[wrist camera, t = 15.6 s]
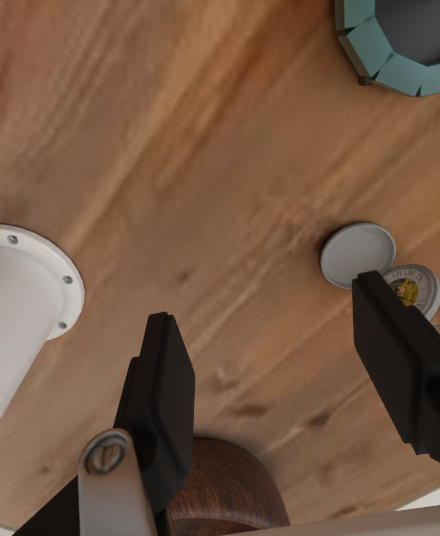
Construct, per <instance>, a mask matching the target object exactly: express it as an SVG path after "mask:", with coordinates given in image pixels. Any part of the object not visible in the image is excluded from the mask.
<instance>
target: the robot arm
mask: <svg viewBox="0 0 440 536" xmlns="http://www.w3.org/2000/svg"><path fill="white" fill-rule="evenodd" d="M84 296H85V291H84V286H83V282H82V279H81V277H80V275H79V272H78V270H77V269H76V267H75V266H74V264H73V263H72V261H71V260H70V259H69V258H68V257H67V256H66V255H65V254H64V253H63V252H62V250H61V249H59V248H58V247H57V246H55V245H54V244H53V243H51V242H50V241H49V240H47V239H45V238H43V237H41V236H39V235H38V234H36V233H33V232H31V231H28V230H25V229H23V228H19V227H14V226H10V225H1V224H0V419H1V417H2V415H3V414H4V412H5V410H6V408H7V407H8V405H9V403H10V401H11V400H12V398H13V396H14V394H15V393H16V391H17V389H18V388H19V386H20V384H21V382H22V381H23V379H24V377H25V375H26V374H27V372H28V370H29V369H30V367H31V365H32V363H33V362H34V360H35V358H36V356H37V355H38V353H39V351H40V350H41V348H42V346H43V344H44V343H45V341H47V340H51V339H54V338H56V337H58V336H60V335H62V334H64V333H65V332H67V331H68V330H69V329H70V328H71V327H72V326H73V325H74V324H75V322H76V321H77V319H78V317H79V315H80V313H81V311H82V308H83V305H84ZM352 301H353V328H354V344H355V347H356V350H357V352H358V354H359V356H360V358H361V360H362V362H363V364H364V366H365V368H366V370H367V372H368V374H369V376H370V378H371V380H372V382H373V384H374V386H375V388H376V390H377V392H378V394H379V396H380V398H381V400H382V402H383V404H384V406H385V408H386V409H387V411H388V413H389V415H390V417H391V419H392V421H393V423H394V425H395V427H396V429H397V431H398V433H399V435H400V437H401V439H402V441H403V442H404V443H405V444H407V443H411V445H412V447H413V449H414V451H415V453H416V455H420V454H427V453H428V454H429V455H430V457H431V458H432V459H434V460H436V461H438V462H440V334H439V333H438V332H437V330H436V329H435V328H434V327H433V326H432V324H431V323H430V322H429V321H428V320H427V319H426V317H425V316H424V315H423V314H422V313H421V311H420V310H419V309H418V308H417V307H416V306H414V305H410V306H406V305H405V304H404V303H403V302H402V300H401V299H400V298H399V297H398V295H397V294H396V293H395V292H394V290H393V289H392V288H391V287H390V285H389V284H388V283H387V282H386V280H385V279H384V278H383V277H382V275H381V274H380V273H379V272H378V271H377V270H373V271H368V272H363V273H358V275H357V278H356V279H352ZM194 398H195V373H194V369H193V367H192V364H191V361H190V358H189V356H188V353H187V350H186V348H185V345H184V342H183V339H182V337H181V334H180V331H179V328H178V326H177V323H176V320H175V318H174V316H173V315H168V313H167V312H161V313H156V314H151V315H149V317H148V321H147V326H146V330H145V334H144V339H143V343H142V347H141V352H140V356H138V357H133V358H132V359H131V361H130V364H129V368H128V372H127V376H126V379H125V383H124V387H123V391H122V395H121V399H120V403H119V407H118V411H117V414H116V418H115V422H114V426H113V428H112V429H108V430H106V431H103V432H101V433H100V434H98V435H96V436H95V437H94V438H93V439H92V440H91V441H89V442H88V444H87V445H86V446H85V448H84V449H83V451H82V453H81V455H80V457H79V461H78V475H77V476H76V477H75V478H74V479H73V480H72V481H70V482H69V483H68V484H67V485H66V486H65V487H64V488H63V489H62V490H61V491H60V492H59V493H57V494H56V495H55V496H54V497H53V498H52V499H51V500H50V501H49V502H48V503H47V504H46V505H44V506H43V507H42V508H41V509H40V510H39V511H38V512H37V513H36V514H35V515H34V516H33V517H31V518H30V519H29V520H28V521H27V522H26V523H25V524H24V525H23V526H22V527H21V528H20V529H18V530H17V531H16V532H15V533H14V534H13V535H12V536H177V534H176V530H175V526H174V522H173V518H172V514H171V510H170V507H169V503H170V502H171V501H172V499H173V498H174V497H175V492H177V491H184V490H185V479H186V478H188V477H190V476H191V472H192V448H193V423H194ZM222 536H440V505H438V506H431V507H424V508H416V509H408V510H401V511H393V512H386V513H378V514H371V515H364V516H356V517H349V518H342V519H335V520H328V521H320V522H313V523H306V524H299V525H292V526H285V527H278V528H270V529H263V530H256V531H249V532H242V533H235V534H229V535H222Z"/></svg>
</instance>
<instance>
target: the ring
mask: <svg viewBox="0 0 440 536" xmlns="http://www.w3.org/2000/svg"><path fill="white" fill-rule="evenodd" d="M335 27H336V31H338V30H343V29H346V30H345V31H343V32H342V33H341V34H340V35H339V36H338V39H339V41H340V43H341V44H342V46H343V48H344V49H345V51H346V53H347V54H348V56H349V58H350V59H351V61H352V63H353V65H354V66H355V68H356V70H357V71H358V73H359V75H360V76H364V77H366V78H365V80H366V81H368V82H371V83H373V84H376V85H378V86H381V87H383V88H385V89H388V90H390V91H393V92H395V93H398V94H400V95H404V96H409V97H420V98H421V97H425V96H430V95H435V94H439V93H440V60H436V61H432V62H427V63H423V64H420V63H418V62H416V61H413V60H411V59H409V58H406V57H404V56H402V55H399V54H397V53H395V52H393V50H392V48H391V46H390V44H389V42H388V40H387V39H386V37H385V35H384V33H383V31H382V29H381V27H380V25H379V24H378V22H377V20H376V18H375V0H335Z"/></svg>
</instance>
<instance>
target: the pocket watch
mask: <svg viewBox="0 0 440 536" xmlns="http://www.w3.org/2000/svg"><path fill="white" fill-rule="evenodd" d="M395 255H396V245H395V242H394V239H393V237H392V236H391V235H390V233H389V232H388V231H387V230H386V229H384V228H382V227H380V226H379V225H375V224H372V223H357V224H352V225H349V226H347V227H344V228H342V229H341V230H339V231H338V232H336V233H335V234H334V235H333V236H332V237H331V238H330V239H329V240H328V241H327V243H326V244H325V246H324V248H323V250H322V253H321V258H320V264H321V269H322V272H323V274H324V276H325V277H326V279H327V280H328V281H329V282H330V283H332V284H333V285H335V286H337V287H340V288H343V289H352V279H356V278H357V275H358V273H363V272H368V271H373V270H377V271H378V272H379V273H380V274H381V275H382V277H383V278H384V279H385V280H386V282H387V283H388V284H389V285H390V287H391V288H392V289H393V290H394V292H395V293H396V294H397V295H398V297H399V298H400V299H401V300H402V302H403V303H404V304H405V305H406V306H410V305H414V306H416V307H417V308H418V309H419V310H420V311H421V313H422V314H423V315H424V316H425V317H426V319H427V320H428V321H429V320H430V319H431V318H432V317H433V315H434V314H435V313H436V311H437V309H438V307H439V304H440V283H439V281H438V279H437V277H436V275H435V274H434V273H433V272H432V271H431V270H430V269H428V268H426V267H425V266H422V265H418V264H408V265H402V266H399V267H396V268H394V269H392V270H391V269H390V267H391V266H392V264H393V261H394V259H395ZM408 284H409V285H408ZM410 284H412V285H411V286H410ZM413 286H415V287H413ZM398 287H401V288H402V287H405V291H404V293H402V292H399V291H400V289H401V288H400V289H398ZM406 287H407V289H406ZM412 287H413V288H412ZM408 289H409V290H408ZM400 294H403V296H402V295H400ZM433 327H434V328H435V329H440V325H437V326H433Z"/></svg>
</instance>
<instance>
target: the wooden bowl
mask: <svg viewBox="0 0 440 536" xmlns="http://www.w3.org/2000/svg"><path fill="white" fill-rule="evenodd" d="M169 507H170V510H171V514H172V518H173V522H174V526H175V530H176V534H177V536H222V535H229V534H235V533H242V532H249V531H256V530H263V529H270V528H278V527H285V526H291V525H290V521H289V518H288V515H287V512H286V509H285V506H284V503H283V500H282V497H281V495H280V492H279V490H278V488H277V486H276V484H275V482H274V480H273V479H272V477H271V476H270V474H269V473H268V471H267V470H266V468H265V467H264V466H263V465H262V464H261V462H260V461H259V460H258V459H257V458H255V457H254V456H253V455H251V454H250V453H248V452H247V451H245V450H243V449H241V448H240V447H237V446H235V445H232V444H229V443H226V442H222V441H217V440H211V439H200V438H193V448H192V472H191V476H190V477H188V478H186V479H185V490H184V491H177V492H175V497H174V498H173V499H172V501H171V502H170V503H169Z"/></svg>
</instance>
